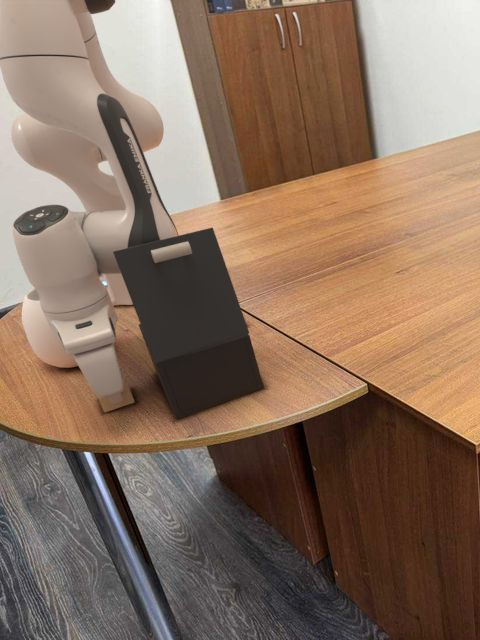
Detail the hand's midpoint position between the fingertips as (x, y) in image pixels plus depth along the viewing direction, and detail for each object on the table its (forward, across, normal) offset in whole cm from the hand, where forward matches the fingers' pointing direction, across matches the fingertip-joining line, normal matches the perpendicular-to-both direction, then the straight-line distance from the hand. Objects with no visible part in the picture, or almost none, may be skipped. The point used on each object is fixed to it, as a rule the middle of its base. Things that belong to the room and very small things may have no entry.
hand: (114, 392), depth 104 cm
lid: (-16, +8, +14) cm, 23 cm away
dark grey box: (+2, +4, +14) cm, 14 cm away
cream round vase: (+2, -20, -4) cm, 20 cm away
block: (+2, 0, 0) cm, 2 cm away
